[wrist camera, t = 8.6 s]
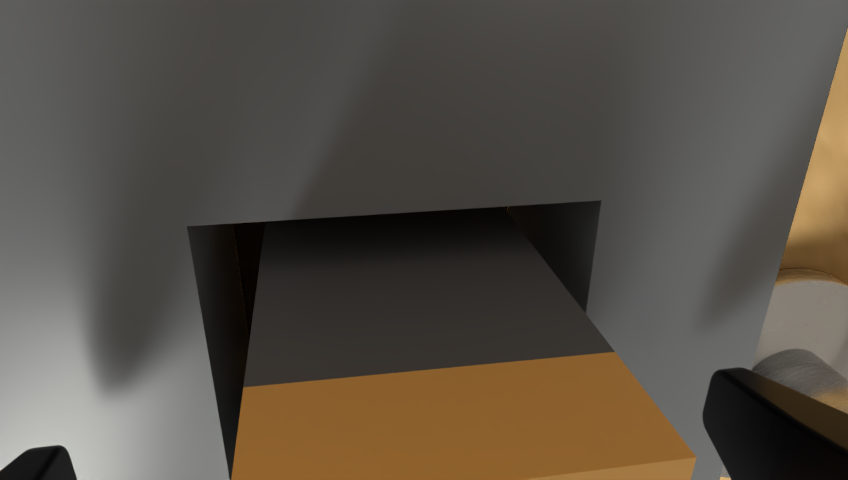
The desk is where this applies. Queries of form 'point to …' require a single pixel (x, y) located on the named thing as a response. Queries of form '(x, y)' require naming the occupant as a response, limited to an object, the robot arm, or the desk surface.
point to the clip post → (806, 337)
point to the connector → (434, 361)
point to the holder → (380, 184)
